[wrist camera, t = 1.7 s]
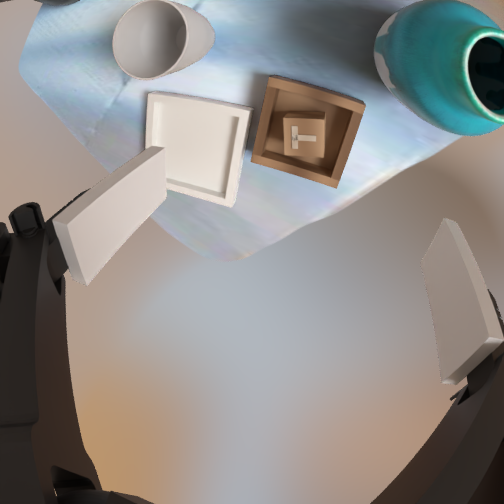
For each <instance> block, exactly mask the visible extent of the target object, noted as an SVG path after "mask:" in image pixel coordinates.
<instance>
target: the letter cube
mask: <svg viewBox="0 0 504 504" xmlns="http://www.w3.org/2000/svg"><path fill="white" fill-rule="evenodd" d="M283 123H284V153H285V155H291V156H308V157H322V158H324V151H325V127H326V112H314V111H288V113H287V114H286V115H285V116H284V118H283Z"/></svg>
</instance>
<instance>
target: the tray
mask: <svg viewBox="0 0 504 504" xmlns="http://www.w3.org/2000/svg"><path fill="white" fill-rule="evenodd" d="M253 109H254V108H251V107H247V106H242V105H238V104H233V103H228V102H223V101H218V100H212V99H207V98H201V97H195V96H189V95H182V94H176V93H168V92H160V91H154V92H151V93H148V102H147V119H146V145H145V150H146V149H147V148H149V147H151V146H158V147H165V148H166V187H167V189H169V190H172V191H176V192H180V193H183V194H187V195H190V196H194V197H197V198H201V199H204V200H208V201H211V202H214V203H218V204H221V205H225V206H228V207H231V208H232V206H233V204H234V203H235V201H236V196H237V191H238V186H239V180H240V175H241V170H242V165H243V159H244V154H245V149H246V144H247V139H248V134H249V129H250V124H251V119H252V114H253Z"/></svg>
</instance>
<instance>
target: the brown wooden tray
mask: <svg viewBox="0 0 504 504" xmlns="http://www.w3.org/2000/svg"><path fill="white" fill-rule="evenodd" d="M365 107H366V105H365V103H364V102H363V101H361V100H358V99H355V98H353V97H350V96H347V95H344V94H341V93H338V92H335V91H332V90H329V89H325V88H322V87H319V86H315V85H312V84H308V83H305V82H301V81H297V80H293V79H290V78H286V77H281V76H277V75H273V76H270V77H269V79H268V83H267V88H266V92H265V97H264V101H263V106H262V111H261V115H260V120H259V125H258V129H257V134H256V139H255V144H254V148H253V153H252V158H251V162H253V163H256V164H260V165H263V166H267V167H270V168H274V169H277V170H280V171H284V172H287V173H290V174H294V175H297V176H300V177H303V178H306V179H309V180H313V181H316V182H319V183H322V184H325V185H328V186H331V187H334V188H336V189H337V186H338V183H339V181H340V178H341V175H342V173H343V170H344V167H345V165H346V162H347V159H348V156H349V153H350V151H351V148H352V145H353V142H354V139H355V136H356V134H357V131H358V128H359V125H360V122H361V119H362V116H363V113H364V110H365ZM288 111H314V112H326V127H325V151H324V158H322V157H308V156H291V155H285V153H284V123H283V118H284V116H285V115H286V114H287V113H288Z"/></svg>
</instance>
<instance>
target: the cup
mask: <svg viewBox="0 0 504 504" xmlns="http://www.w3.org/2000/svg"><path fill="white" fill-rule="evenodd" d="M214 42H215V32H214V29H213V27H212V26H211V24H210V22H209V21H208V20H207V19H206V18H205V17H204V16H203V15H201V14H199V13H198V12H196V11H195V10H193V9H191V8H190V7H187V6H184V5H181V4H178V3H175V2H172V1H168V0H143V1H141V2H139V3H137V4H135V5H133V6H132V7H131V8H129V9H128V10H127V11H126V12H125V13H124V14H123V16H122V17H121V18H120V20H119V22H118V24H117V26H116V28H115V31H114V35H113V42H112V46H113V53H114V57H115V60H116V62H117V64H118V65H119V67H120V68H121V69H122V70H123V71H124V72H125V73H126V74H127V75H129V76H131V77H133V78H135V79H139V80H152V79H156V78H159V77H162V76H165V75H168V74H171V73H174V72H177V71H180V70H182V69H184V68H186V67H188V66H190V65H192V64H193V63H195V62H197V61H199V60H200V59H202V58H203V57H204V56H205V55H206V54H207V53H208V52H209V50H210V49H211V48H212V46H213V44H214Z"/></svg>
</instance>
